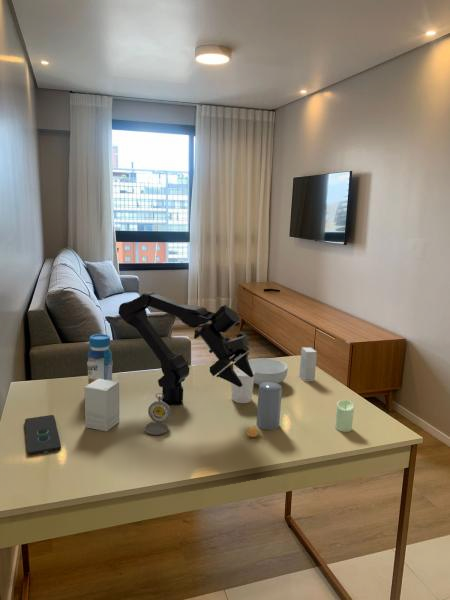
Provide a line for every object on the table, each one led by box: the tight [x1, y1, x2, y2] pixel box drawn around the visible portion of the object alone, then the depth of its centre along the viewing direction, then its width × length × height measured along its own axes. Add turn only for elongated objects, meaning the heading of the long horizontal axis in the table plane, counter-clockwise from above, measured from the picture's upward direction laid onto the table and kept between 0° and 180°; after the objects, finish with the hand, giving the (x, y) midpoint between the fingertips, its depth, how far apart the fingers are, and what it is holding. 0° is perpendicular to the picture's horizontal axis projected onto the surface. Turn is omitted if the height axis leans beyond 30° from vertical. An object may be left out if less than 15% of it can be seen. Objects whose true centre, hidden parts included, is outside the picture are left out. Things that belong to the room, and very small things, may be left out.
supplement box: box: [84, 379, 121, 432], centre depth 132 cm, size 7×7×13 cm
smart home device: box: [24, 414, 62, 457], centre depth 125 cm, size 8×2×20 cm
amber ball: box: [247, 426, 259, 438], centre depth 130 cm, size 3×3×3 cm
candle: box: [334, 399, 355, 433], centre depth 137 cm, size 5×5×8 cm
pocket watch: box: [144, 392, 171, 436], centre depth 131 cm, size 8×8×10 cm
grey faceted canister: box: [256, 382, 283, 431], centre depth 137 cm, size 7×7×12 cm
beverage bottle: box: [86, 333, 114, 385], centre depth 154 cm, size 8×8×20 cm
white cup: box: [230, 367, 255, 404], centre depth 155 cm, size 8×8×10 cm
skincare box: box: [298, 347, 318, 382], centre depth 177 cm, size 6×4×12 cm
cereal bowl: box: [248, 357, 289, 386], centre depth 172 cm, size 17×17×7 cm
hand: (247, 381), depth 138 cm, fingers open, 9 cm apart
